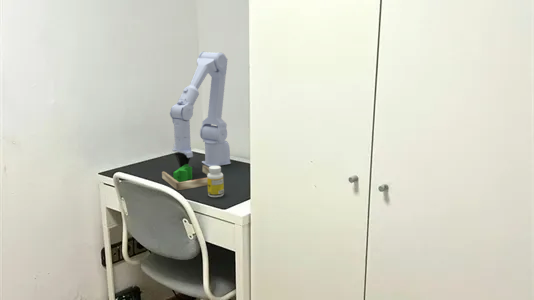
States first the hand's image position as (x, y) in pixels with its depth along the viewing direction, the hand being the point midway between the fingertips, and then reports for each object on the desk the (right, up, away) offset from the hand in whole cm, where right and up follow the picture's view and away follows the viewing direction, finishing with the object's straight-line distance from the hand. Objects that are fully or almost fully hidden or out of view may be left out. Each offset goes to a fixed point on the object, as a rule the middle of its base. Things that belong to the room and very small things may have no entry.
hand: (183, 171), depth 216 cm
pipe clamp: (+1, -3, -6) cm, 7 cm away
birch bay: (+3, -3, -5) cm, 7 cm away
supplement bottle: (+14, -7, -22) cm, 27 cm away
